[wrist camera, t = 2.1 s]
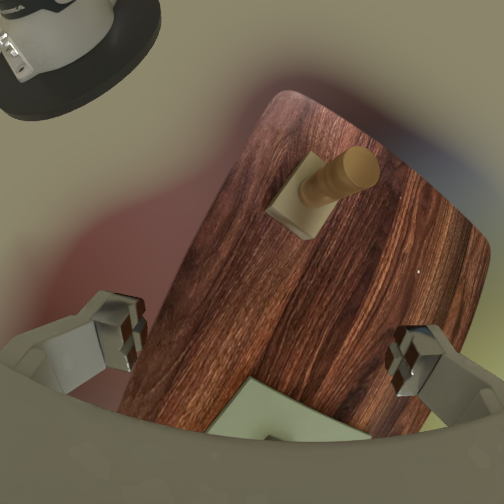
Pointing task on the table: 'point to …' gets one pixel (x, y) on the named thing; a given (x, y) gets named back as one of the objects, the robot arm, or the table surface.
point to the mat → (277, 418)
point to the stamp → (321, 189)
